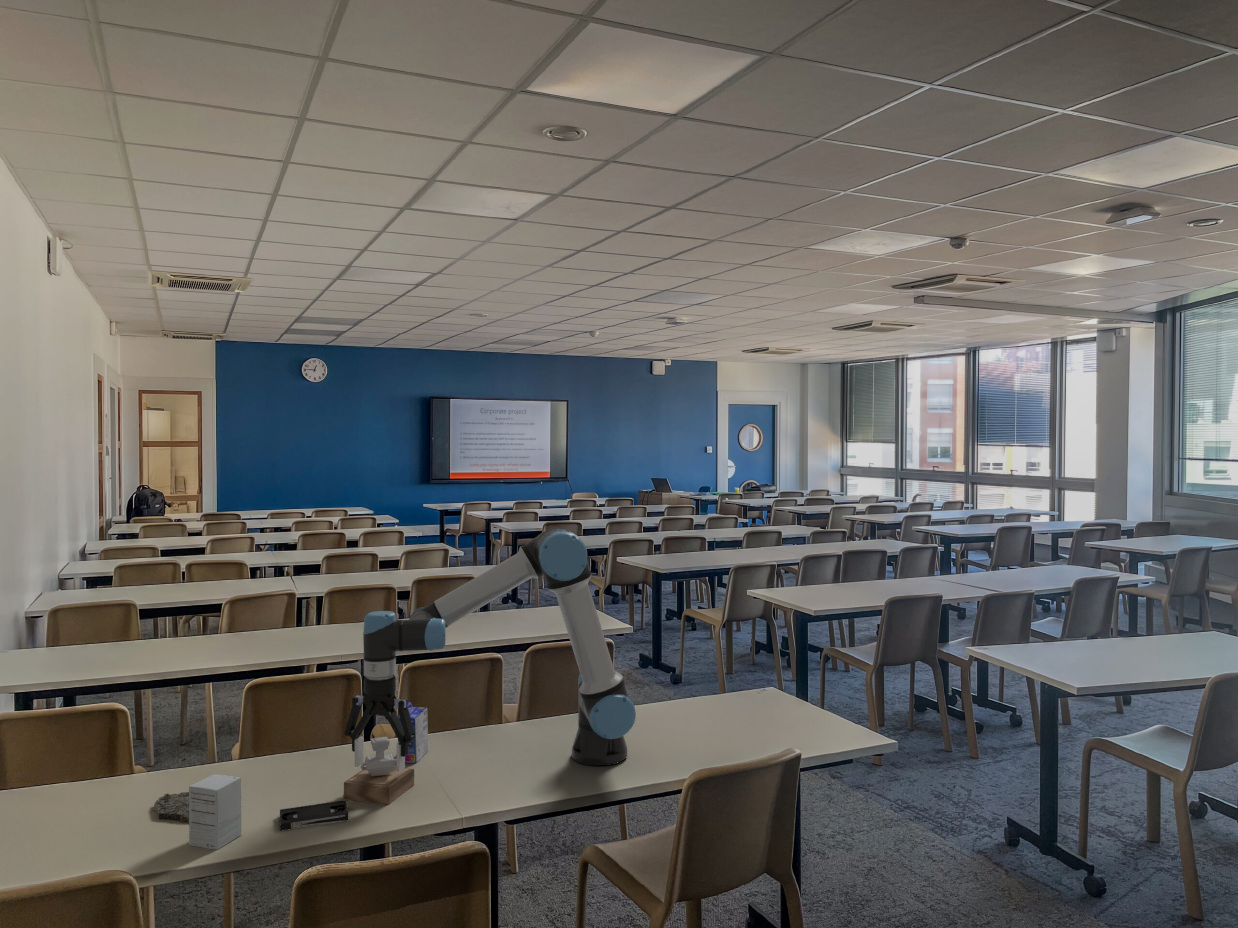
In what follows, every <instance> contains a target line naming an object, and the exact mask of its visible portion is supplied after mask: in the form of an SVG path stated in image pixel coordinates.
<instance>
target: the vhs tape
mask: <svg viewBox="0 0 1238 928" xmlns="http://www.w3.org/2000/svg"><path fill="white" fill-rule="evenodd" d="M341 808H344V811H338V810H341ZM348 809H349V808H348V805H347V799H343V800H338V801H329V802H322V803H316V804H309V805H308V804H307V805H302V806H294V807H288V808H283V809H281V808H280V809H279V831H281V832H282V830H284V831H289V830H288V829H290V830H293V829H294V828H296V829H300V828H301V827H303V828H309V827H316V826H323V825H328V823H329V824H333V822H336V823H340V822H339V821H342V822H347V820H348V821H349V810H348ZM283 817H284V818H286V819H283ZM308 826H309V827H308ZM301 829H302V828H301ZM294 830H295V829H294Z"/></svg>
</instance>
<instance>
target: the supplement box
mask: <svg viewBox="0 0 1238 928" xmlns="http://www.w3.org/2000/svg"><path fill="white" fill-rule="evenodd" d="M188 792H189V823H188V828H189V829H188V831H189V833H188V835H189V836H188V838H189V840H188V841H189V842H188V843H189V845H190V846H192V847H197V848H204V849H209V850H215V851H216V850H217V851H218V850H219V849H221V848H223V847H224V846H226V845H227V844H229V843H231V842H232V841H235V839H237V838H239V837H240V836H242V777H239V776H231V775H224V774H218V773H217V774H216V773H215V774H214V773H213V774H210V775H209V776H207V777H205V778H203V779H202V780H201V779H200V780H199V781H196V782H195V783H193V784H191V785H189V786H188Z"/></svg>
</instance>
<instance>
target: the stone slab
mask: <svg viewBox="0 0 1238 928" xmlns="http://www.w3.org/2000/svg"><path fill="white" fill-rule="evenodd" d="M152 811H153V812H156V813H157V815H158V819H159V820H178V821H180V822H181V823H188V824H189V791H185V792H184V791H183V792H179V793H173V794H169V793H164V795H163V796H160V797H158V798H157V800H156V801H155V802H154V804H153V808H152Z"/></svg>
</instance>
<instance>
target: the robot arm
mask: <svg viewBox="0 0 1238 928" xmlns="http://www.w3.org/2000/svg"><path fill="white" fill-rule="evenodd" d="M592 575H593V574H592V573H591V568H590V565H589V562H588V550H587V546H586V544H585V543H584V541H583V540H582V538H580V537H579V536H578V535H577V534H576V533H574V532H572V531H569V530H568V529H566V528H563V527H552V528H548V529H546V530H544V531H543V532H541V533H540V534H538V535H537V536H535V537H534V538H533V539H531V540H530V541H528V542H527V543H525V544H523V545H521V546H519V549H518V552H517V553H515V554H514V555H511V556H510V557H508V558H507V559H505V560H503V561H502V562H500V563H498V564H496V565H495V566H493V567H491V568H490V569H488V570H486V571H484V572H483V573H481V574H479V575H477V576H476V577H474V578H472V579H470V580H469V581H466V582H465V583H463V584H462V585H460V586H459V587H457V588H455V589H453V590H452V591H450V592H448V593H447V594H444V595H442V596H441V597H439V598H438V599H436V600H435V601H433V602H431V603H429V604H427V605H426V606H423V607H418V608H417V609H415V610H414V611H413V612H412V613H411V614H410V616H409V618H408V619H397V614H396V613H395V611H390V610H377V611H371V612H368V613H367V614H366V615H365V616H364V617H363V618H364V619H363V632H362V633H363V636H362V637H363V638H362V639H363V676H364V679H363V695H361V694H358V695H355V696H353V697H352V699H351V708H350V713H349V715H348V719H347V723H346V725H345V730H344V733H343V734H344V736H346V737H350V739H351V751H352V752H353V753H354V767H356V768H357V767H361V765H362V764H363V763H364V736H362V733H363V731H364V729H365V728H366V726H367V724H368V723H369V721H370V720H371V717H372V716H381V717H384V718H385V720H387V722H388V723H389V724H390V727H391V728H392V731H393V732H394V734H395V736H396V738H397V741H398V740H399V743H398V742H397V743H396V759H397V766H396V767H397V771H401V770H402V769H403V768H406V763H405V756H406V755H407V754H408V742H410V741H411V740H413V739H414V738H415V737H416V735H415V732H414V728H413V725H412V721H411V718H410V714H409V711H408V708H409V706H408V702H409V701H408V698H403V699H399V698H397V696H396V690H397V683H396V682H397V677H396V676H395V675H396V673H397V670H396V669H397V668H396V667H397V665H396V664H397V663H396V662H397V660H396V659H397V657H396V656H397V655H396V654H397V653H396V652H405V651H406V652H409V651H434V650H442V649H444V648H445V647H446V629H447V628H448V627H450V626H451V625H453V624H454V623H457V622H458V621H460V620H461V619H463V618H465V617H467V616H468V615H470V614H472V613H474V612H475V611H478V610H479V609H480V608H482V607H484V606H486V605H488V604H489V603H490V602H493V601H494V600H496V599H498V598H499V597H501V596H503V595H505V594H507V593H508V592H509V591H511V590H513V589H515V588H516V587H519V585H521V584H523V583H526V582H527V581H529V580H531V579H532V578H533V579H539V578H541V577H543V578H544V580H545V585H546V586H547V590H548V591H550V592H552V593H554V594H555V596H556V600H557V603H558V606H559V608H560V612H561V616H562V618H563V621H564V625H565V629H566V632H567V635H568V638H569V641H570V644H571V648H572V651H573V653H574V654H573V655H574V658H575V660H576V664H577V667H578V670H579V675H578V681H577V682H578V683H577V687H578V694H577V695H578V698H577V699H578V705H577V706H578V707H577V708H578V709H577V710H578V715H577V716H578V718H577V719H578V723H577V726H578V728H577V731H576V734H575V737H574V740H573V744H572V746H571V757H572V760H573V761H574V762H577V763H578V762H579V764H581V763H582V765H585V764H587V766H592V765H598V766H597V767H600V766H599V765H607V766H609V765H608V764H613V765H615V764H614V763H617V762H620V761H622V760H624V759H625V758H626V757H627V758H628V746H627V742H626V740H625V735H626V734H628V733H629V732H630V731H631V729H632V727H633V726H634V725H635V722H636V719H637V717H636V716H637V714H636V712H637V711H636V707H635V704H634V703H633V701H632V700H631V698H630V696H629V693H628V689H627V686H626V683H625V680H624V676H623V675H622V674H621V673H620V672H619V671H616V670H615V668H614V663H613V661H612V658H611V654H610V651H609V648H608V644H607V641H606V638H605V635H604V632H603V628H602V625H601V622H600V618H599V614H598V612H597V609H596V605H595V603H594V598H593V596H592V592H591V589H590V586H589V583H590V580H591V578H592ZM363 704H364V705H365V710H364V711H363V713H362V716H361V717H360V712H361V710H362V705H363ZM395 706H396V708H395ZM396 709H397V710H398V714H397V710H396ZM399 716H400V719H401V722H400V720H399V718H398V717H399ZM359 717H360V719H359ZM358 720H359V721H358ZM401 723H402V724H401ZM627 758H626V759H627ZM626 759H625V760H626ZM625 760H624V761H625ZM622 762H623V761H622ZM620 763H621V762H620ZM617 764H618V763H617Z"/></svg>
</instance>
